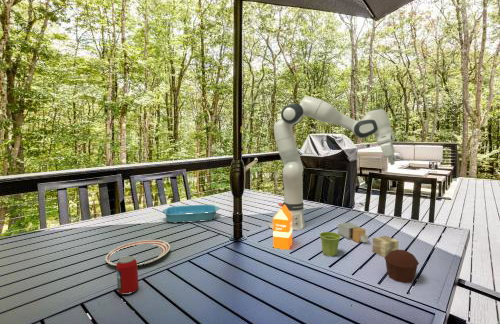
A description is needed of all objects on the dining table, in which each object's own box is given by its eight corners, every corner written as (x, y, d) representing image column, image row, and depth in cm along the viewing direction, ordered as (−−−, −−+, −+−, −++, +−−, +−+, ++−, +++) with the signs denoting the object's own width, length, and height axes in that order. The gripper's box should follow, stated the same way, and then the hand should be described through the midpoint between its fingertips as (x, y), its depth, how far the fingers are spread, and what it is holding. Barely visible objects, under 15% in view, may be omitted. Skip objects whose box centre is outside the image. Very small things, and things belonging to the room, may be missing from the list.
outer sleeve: (348, 239, 144) (349, 228, 144) (338, 234, 151) (338, 224, 151) (359, 237, 147) (359, 226, 146) (348, 232, 154) (349, 222, 154)
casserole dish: (218, 212, 200) (218, 202, 199) (220, 222, 178) (220, 211, 177) (164, 216, 193) (164, 206, 193) (160, 226, 171) (160, 215, 171)
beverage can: (122, 286, 103) (120, 255, 102) (141, 285, 104) (139, 254, 102) (115, 297, 96) (112, 263, 95) (135, 295, 97) (133, 262, 96)
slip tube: (362, 244, 137) (362, 232, 137) (336, 232, 155) (336, 221, 154) (369, 242, 139) (369, 231, 138) (343, 231, 156) (343, 220, 156)
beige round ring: (106, 278, 110) (105, 270, 109) (105, 252, 134) (105, 246, 134) (176, 262, 122) (176, 255, 122) (164, 241, 147) (164, 235, 146)
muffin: (402, 287, 99) (403, 260, 98) (377, 273, 109) (378, 249, 108) (425, 280, 104) (426, 254, 103) (398, 267, 114) (399, 243, 113)
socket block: (384, 257, 123) (385, 243, 122) (372, 251, 129) (372, 238, 129) (398, 254, 126) (398, 240, 125) (385, 248, 132) (385, 235, 132)
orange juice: (273, 248, 135) (272, 207, 133) (277, 241, 144) (277, 203, 142) (288, 250, 133) (288, 209, 131) (292, 243, 141) (292, 204, 139)
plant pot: (340, 250, 131) (341, 232, 130) (340, 259, 122) (340, 240, 121) (320, 248, 134) (320, 230, 133) (318, 256, 125) (318, 237, 124)
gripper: (380, 138, 158) (388, 161, 158) (377, 141, 140) (385, 167, 140) (392, 134, 154) (400, 158, 154) (390, 137, 137) (399, 164, 137)
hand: (393, 163), depth 147 cm, fingers open, 8 cm apart
